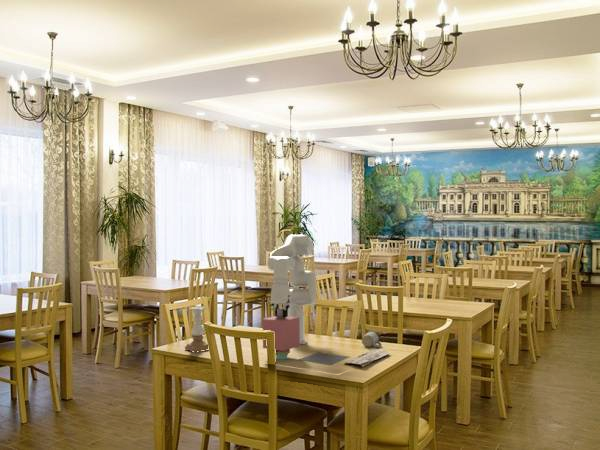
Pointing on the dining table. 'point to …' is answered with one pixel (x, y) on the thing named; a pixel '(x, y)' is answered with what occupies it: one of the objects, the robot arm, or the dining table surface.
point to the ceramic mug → (371, 340)
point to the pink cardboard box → (283, 330)
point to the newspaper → (368, 357)
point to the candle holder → (197, 331)
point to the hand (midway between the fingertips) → (281, 316)
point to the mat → (324, 358)
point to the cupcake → (282, 354)
